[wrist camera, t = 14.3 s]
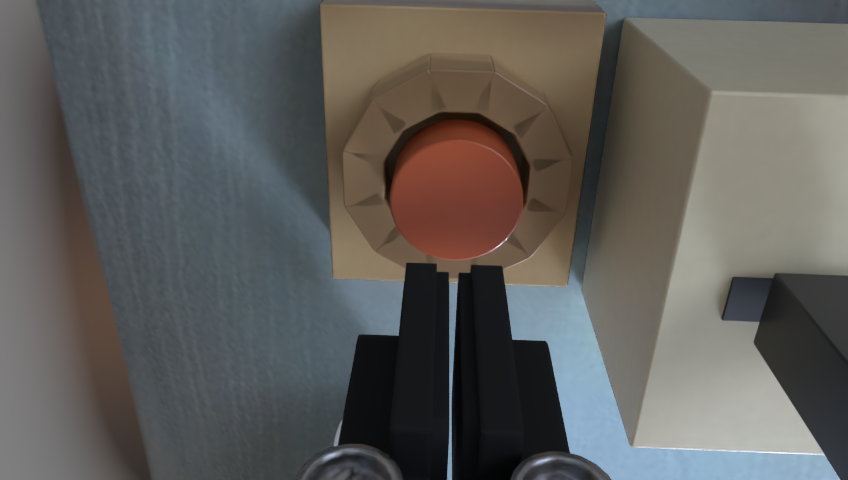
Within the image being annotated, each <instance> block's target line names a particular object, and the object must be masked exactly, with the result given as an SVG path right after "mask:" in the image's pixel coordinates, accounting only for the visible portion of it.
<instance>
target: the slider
mask: <svg viewBox="0 0 848 480" xmlns="http://www.w3.org/2000/svg"><path fill="white" fill-rule="evenodd" d="M754 345H755V346H756V348H757V350H758V351H759V353H760V354H761V356H762V357H763V359H764V360H765V362H766V364H767V365H768V367H769V368H770V370H771V371H772V373H773V375H774V376H775V378H776V379H777V381H778V382H779V384H780V386H781V387H782V389H783V390H784V392H785V393H786V395H787V396H788V398H789V400H790V401H791V403H792V404H793V406H794V407H795V409H796V411H797V412H798V414H799V415H800V417H801V418H802V420H803V422H804V423H805V425H806V426H807V428H808V429H809V431H810V432H811V434H812V436H813V437H814V439H815V440H816V442H817V443H818V445H819V447H820V448H821V450H822V451H823V453H824V454H825V456H826V457H827V459H828V461H829V462H830V464H831V465H832V467H833V468H834V470H835V472H836V473H837V475H838V476H839V478H840V479H841V480H848V276H846V275H818V274H790V273H775V274H774V277H773V280H772V283H771V287H770V290H769V293H768V296H767V300H766V303H765V306H764V309H763V312H762V316H761V319H760V322H759V325H758V329H757V332H756V335H755V338H754Z"/></svg>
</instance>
